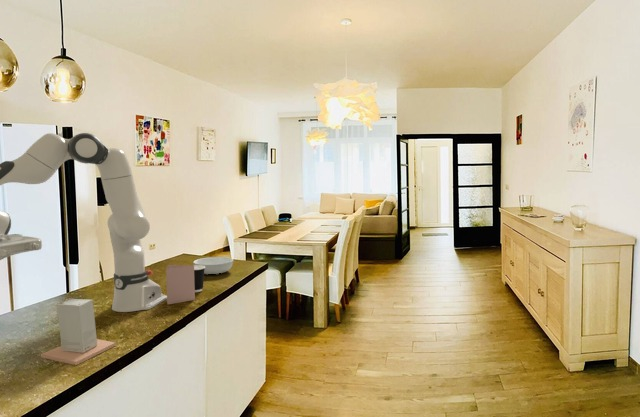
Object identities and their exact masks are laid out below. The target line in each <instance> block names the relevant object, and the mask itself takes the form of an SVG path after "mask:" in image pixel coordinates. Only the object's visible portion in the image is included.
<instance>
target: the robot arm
mask: <svg viewBox="0 0 640 417" xmlns="http://www.w3.org/2000/svg"><path fill="white" fill-rule="evenodd" d="M68 160H74V161H76V162H78V163H80V164H92V165H95V166H96V167H97V169H98V171H99V174H100V179H101V184H102V188H103V192H104V195H105V200H106V202H107V204H108V205H109V209H110V210H111V212H112V213H111V214H110V215H109V216H108V219H107V228H108V231H109V237H110V242H111V247H112V253H113V262H114V263H113V264H114V274H113V283H114V287H113V288H114V291H113V301H112V303H111V304H112V305H111V310H112V311H113V312H118V313H128V312H129V313H130V312H136V311H137V312H138V311H144V310H145V311H146V310H151V309H152V308H154V307H156V306H158V305H159V304H161V303H163V302H165V301H167V294H163V293H162V288H161V286H160V285H159V284H158V283H156V282H155V281H153V280H152V279H150V278H149V276H153V274H154V272H153V270H150V269H149V270H146V269H145V264H146V263H145V251H144V249H143V246H142V241H141V240H142V239H144V238H146V236H147V235H148V234H149V233H150V232H149V231H150V229H151V227H150V222H149V220H148V219H147V216H146V214H145V212H144V209H143V206H142V204H141V201H140V200H139V196H138V194H137V191H136V184H135V180H134V176H133V173H132V169H131V165H130V163H129V160H128V158H127V155H126V154H125V152H124V151H123V150H121V149H119V148H108V147H107V146H106V145H105V144H104V143H103V142H102V140H100V138H98V137H97V136H96V135H94V134H93V133H89V132H81V133H77V134H76V135H73V137H71V138H64V137H62V135H61V136H60V135H59V134H57V133H50V132H48V133H45V134H44V135H42V136H41V137H39V139H37V140H36V141H34V143H33V144H32V145H30V146H29V148H27V149H26V151H24V153H23V154H21V156H19V157H18V158H16V159H13V160H11V161H10V160H5V161H3V162H1V163H0V186H2V185H4V184H8V183H9V184H10V183H16V184H18V183H19V184H25V185H26V184H27V185H40V184H43V183H46V182H48V180H49V179H51V178H52V177H53V175H54V174H55V173H56V172H57V171H58V169H59V168H60V167H61V166H62V164H64V163H65V162H66V161H68ZM11 229H12V219H11V216H10V214H9V213H7V212H5V211H3V210H1V209H0V261H2V260H4V259H7V258H9V257H11V256H14V255H18V254H22V253H28V252H33V251H39V250H42V246H43V243H42V242H43V241H42V239H41V238H38V237H34V236H24V235H23V234H22V233H21V234H20V233H14V234H9V233H10V230H11Z"/></svg>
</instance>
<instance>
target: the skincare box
mask: <svg viewBox="0 0 640 417" xmlns="http://www.w3.org/2000/svg"><path fill="white" fill-rule="evenodd" d="M93 301H94V300H93V299H88V298H87V299H82V298H70V299H67V300H65V301H63V302H61V303H57V304H56V307H57V316H58V327H59V335H60V343H61V344H60V346H62V351H71V352H80V353H84V352H86V351H87V350H90V349H92V348H94V347H96V346H97V339H98V338H97V330H96V321H95V320H96V319H95V310H94V302H93Z"/></svg>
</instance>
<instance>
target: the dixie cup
mask: <svg viewBox="0 0 640 417" xmlns="http://www.w3.org/2000/svg"><path fill="white" fill-rule="evenodd" d="M204 269H205V266H202V265H195V266H194V284H195V293H199V292H202V291H203V288H204V280H205V278H204V277H205V274H204Z"/></svg>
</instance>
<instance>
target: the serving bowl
mask: <svg viewBox="0 0 640 417" xmlns="http://www.w3.org/2000/svg"><path fill="white" fill-rule="evenodd" d="M192 263H193V265H194V266H195V265H202V266H205V269H204V275H208V274H216V275H220V274H219V273H221V274H222V273H227V271H229V270H231V268H232V267H233V264H234V259H233V258H231V257H227V256H212V257H210V256H209V257H203V258H198V259H195V260H194V261H192Z"/></svg>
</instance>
